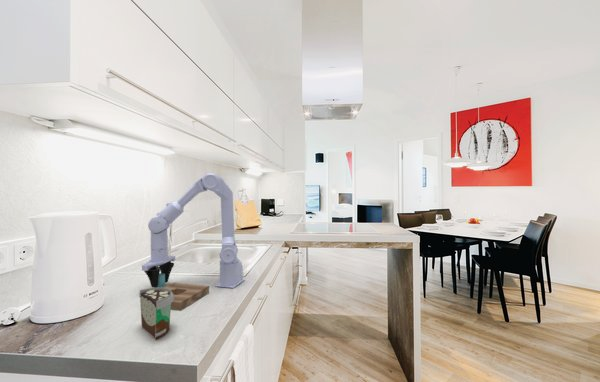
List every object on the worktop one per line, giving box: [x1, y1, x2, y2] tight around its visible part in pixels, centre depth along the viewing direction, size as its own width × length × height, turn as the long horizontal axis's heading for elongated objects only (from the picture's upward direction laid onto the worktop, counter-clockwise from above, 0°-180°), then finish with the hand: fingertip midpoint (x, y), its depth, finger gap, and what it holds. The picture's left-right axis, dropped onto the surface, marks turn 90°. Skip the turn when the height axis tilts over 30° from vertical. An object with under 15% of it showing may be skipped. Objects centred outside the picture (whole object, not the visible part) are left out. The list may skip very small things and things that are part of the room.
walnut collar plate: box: [164, 282, 210, 311], centre depth 94 cm, size 15×15×2 cm
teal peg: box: [154, 272, 166, 288], centre depth 104 cm, size 4×4×6 cm
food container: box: [138, 287, 174, 341], centre depth 74 cm, size 12×6×10 cm, turn 48°
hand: (159, 284), depth 104 cm, fingers open, 5 cm apart
